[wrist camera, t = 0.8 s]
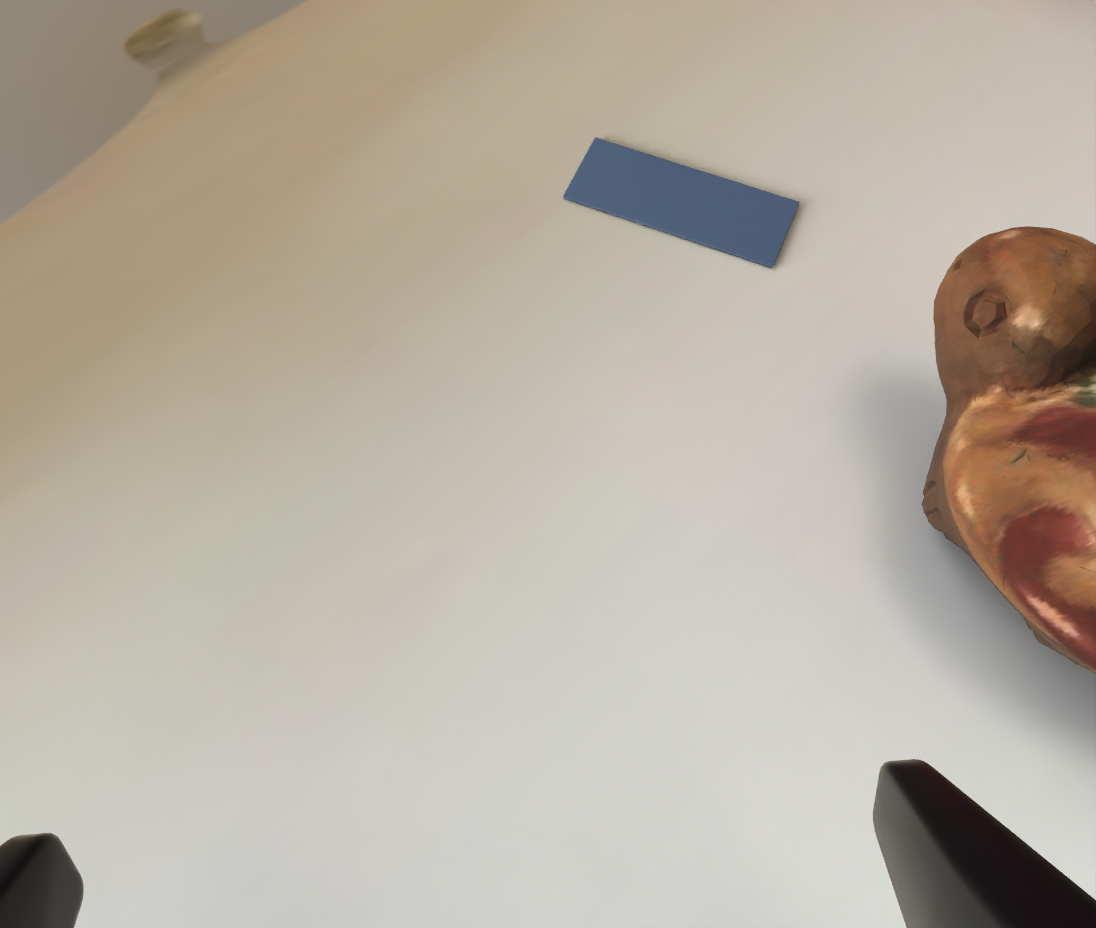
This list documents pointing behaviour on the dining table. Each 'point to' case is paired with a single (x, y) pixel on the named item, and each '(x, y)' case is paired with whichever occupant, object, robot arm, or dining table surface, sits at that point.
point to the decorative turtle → (1022, 426)
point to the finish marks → (683, 201)
